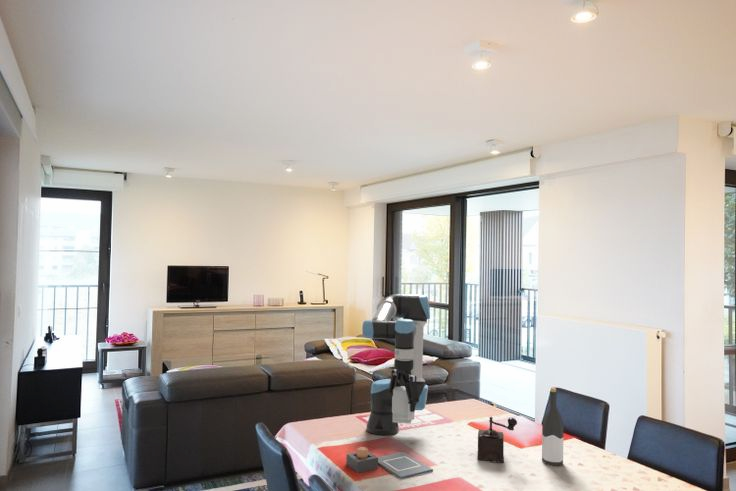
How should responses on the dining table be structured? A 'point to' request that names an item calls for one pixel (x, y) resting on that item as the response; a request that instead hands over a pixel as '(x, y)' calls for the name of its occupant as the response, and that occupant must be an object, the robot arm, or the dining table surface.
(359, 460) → the button housing
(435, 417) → the dining table surface
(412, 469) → the slate board
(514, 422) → the manual coffee grinder
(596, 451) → the dining table surface
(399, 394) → the supplement box
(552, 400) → the wine bottle
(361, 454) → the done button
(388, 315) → the robot arm
